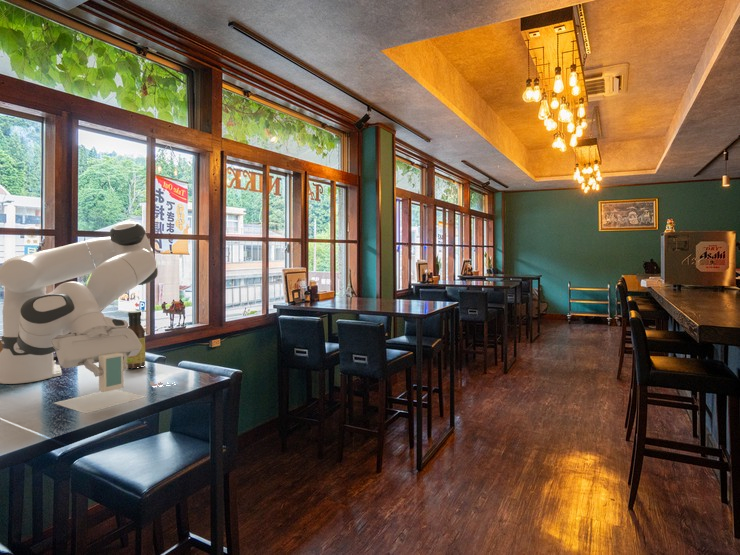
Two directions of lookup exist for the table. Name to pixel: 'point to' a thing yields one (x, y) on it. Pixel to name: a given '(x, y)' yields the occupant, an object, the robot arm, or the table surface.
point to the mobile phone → (156, 384)
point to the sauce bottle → (140, 333)
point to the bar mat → (99, 400)
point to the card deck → (111, 372)
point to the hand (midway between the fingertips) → (112, 372)
